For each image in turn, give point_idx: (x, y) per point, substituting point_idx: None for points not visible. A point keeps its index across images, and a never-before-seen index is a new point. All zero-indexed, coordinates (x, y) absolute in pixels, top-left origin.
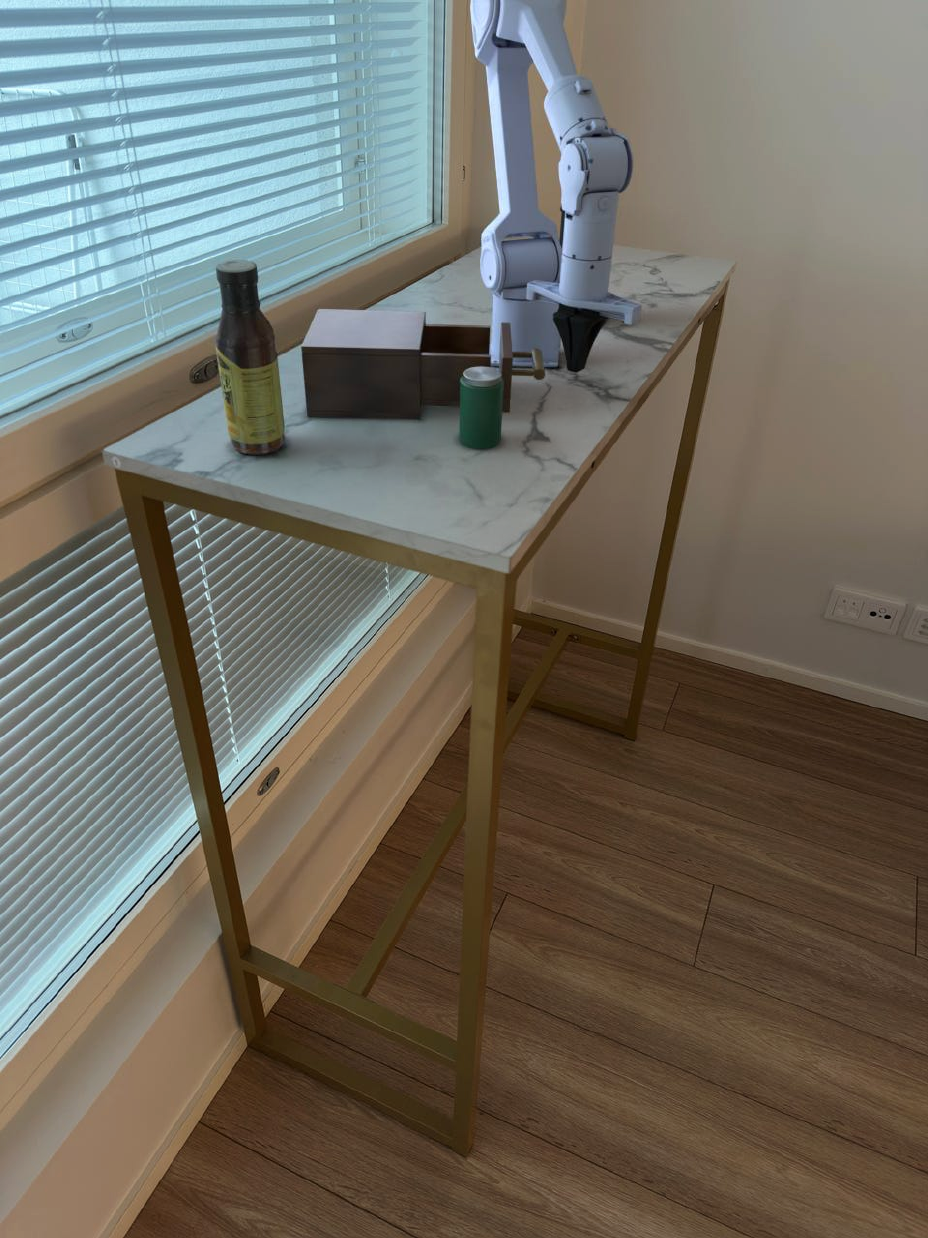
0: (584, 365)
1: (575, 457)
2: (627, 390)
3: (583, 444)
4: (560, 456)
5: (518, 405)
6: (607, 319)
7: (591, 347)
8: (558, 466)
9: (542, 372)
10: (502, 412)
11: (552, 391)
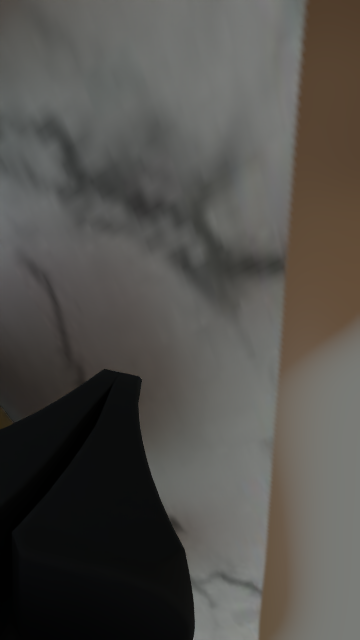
0: (139, 389)
1: (248, 562)
2: (265, 181)
3: (246, 521)
4: (222, 566)
5: None
6: (182, 546)
7: (139, 422)
8: (232, 591)
9: None
10: None
11: (66, 305)
